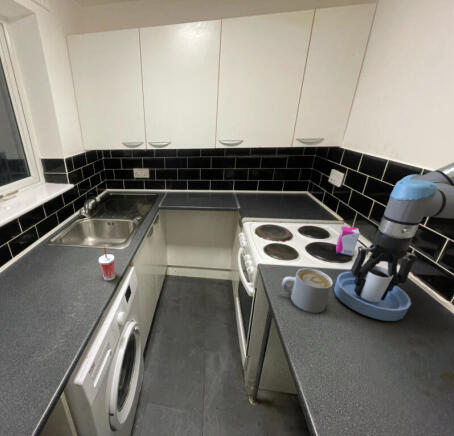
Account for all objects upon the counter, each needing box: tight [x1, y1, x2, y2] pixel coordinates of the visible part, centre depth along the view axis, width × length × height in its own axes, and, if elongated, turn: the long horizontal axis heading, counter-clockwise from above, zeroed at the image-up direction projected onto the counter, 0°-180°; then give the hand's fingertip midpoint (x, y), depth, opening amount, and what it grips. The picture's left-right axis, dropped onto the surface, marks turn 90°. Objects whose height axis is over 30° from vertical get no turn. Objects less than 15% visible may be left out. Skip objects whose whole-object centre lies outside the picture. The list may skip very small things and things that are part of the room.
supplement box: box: [335, 225, 361, 257], centre depth 101 cm, size 6×6×12 cm
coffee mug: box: [281, 267, 334, 314], centre depth 76 cm, size 13×10×10 cm
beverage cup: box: [98, 247, 116, 282], centre depth 91 cm, size 6×6×14 cm
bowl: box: [333, 271, 412, 322], centre depth 76 cm, size 18×18×5 cm
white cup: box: [360, 264, 393, 302], centre depth 74 cm, size 7×7×10 cm
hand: (368, 295), depth 76 cm, fingers closed on white cup, 6 cm apart
